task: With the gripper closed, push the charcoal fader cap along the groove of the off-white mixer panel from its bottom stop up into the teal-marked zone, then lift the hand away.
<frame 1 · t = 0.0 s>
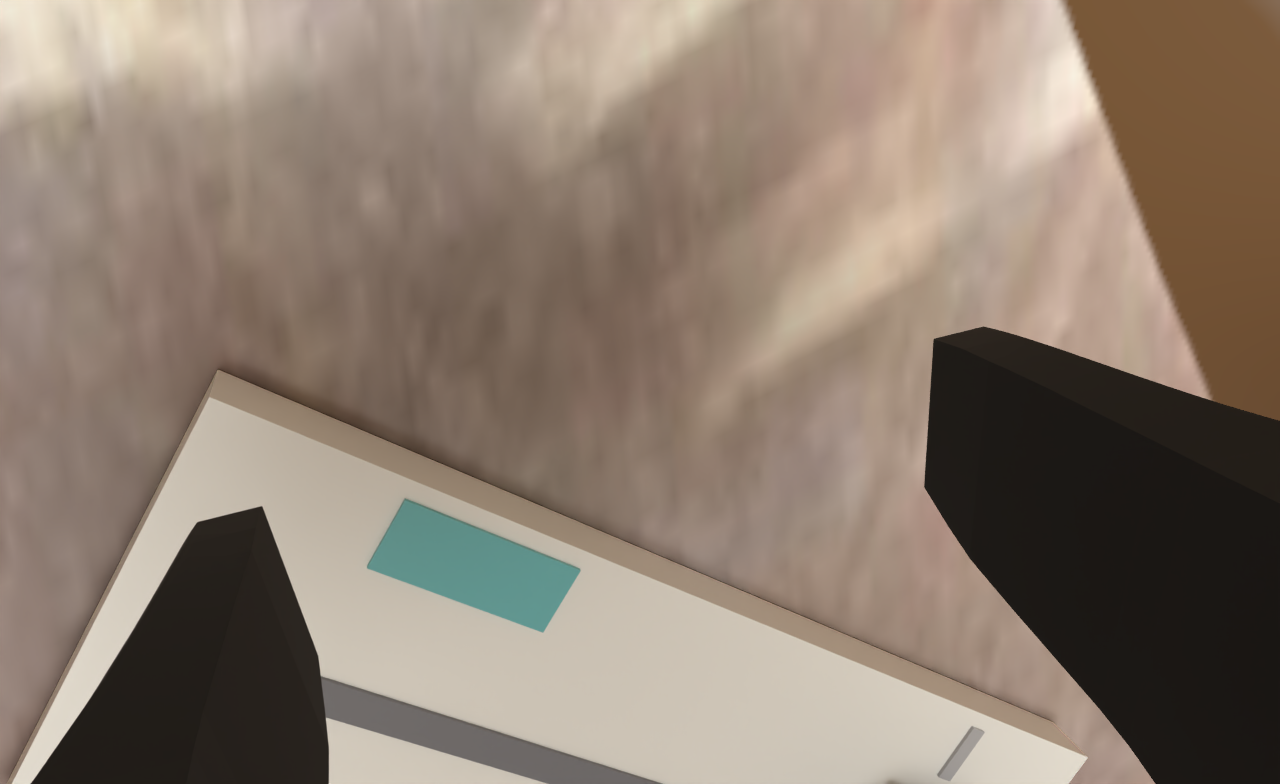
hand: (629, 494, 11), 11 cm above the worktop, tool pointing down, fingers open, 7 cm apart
mixer panel: (611, 746, 25), on the worktop
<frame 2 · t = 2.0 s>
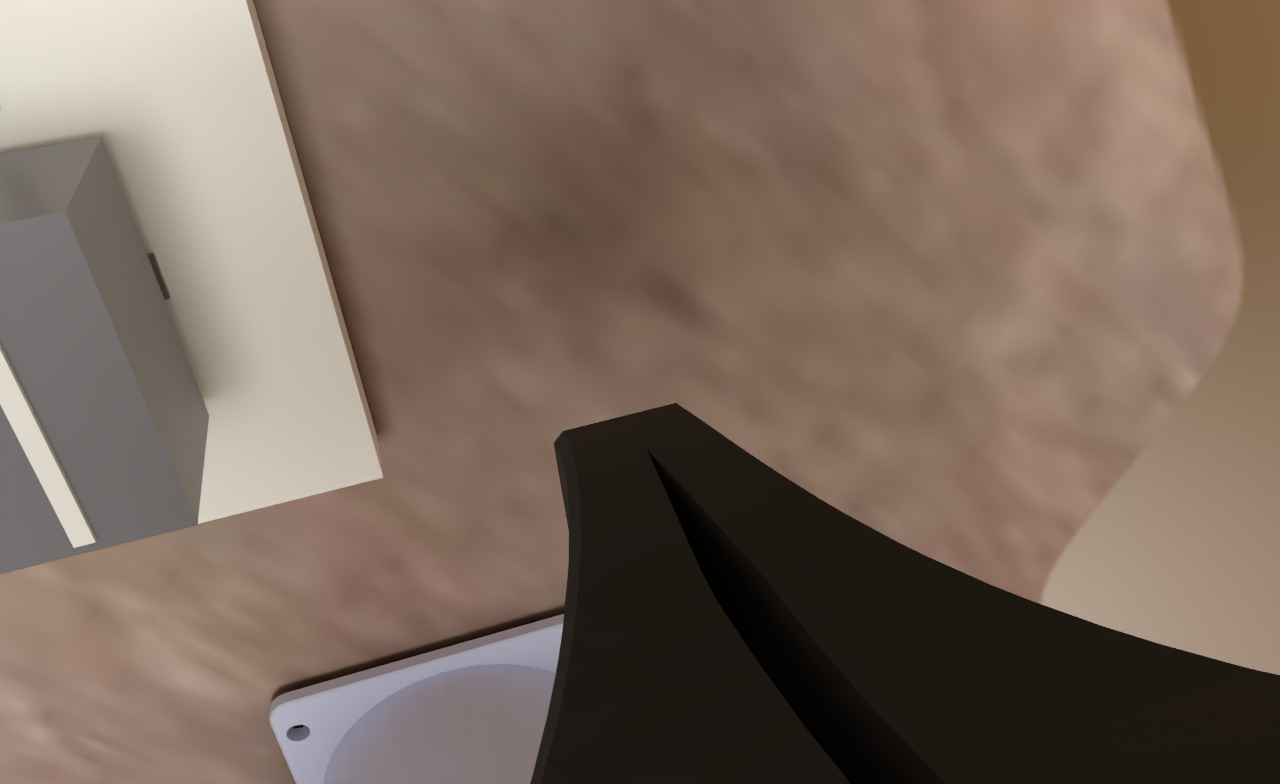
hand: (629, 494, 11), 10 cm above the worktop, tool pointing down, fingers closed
fader: (41, 355, 15), point 4 cm above the worktop, slide at 0.0 cm
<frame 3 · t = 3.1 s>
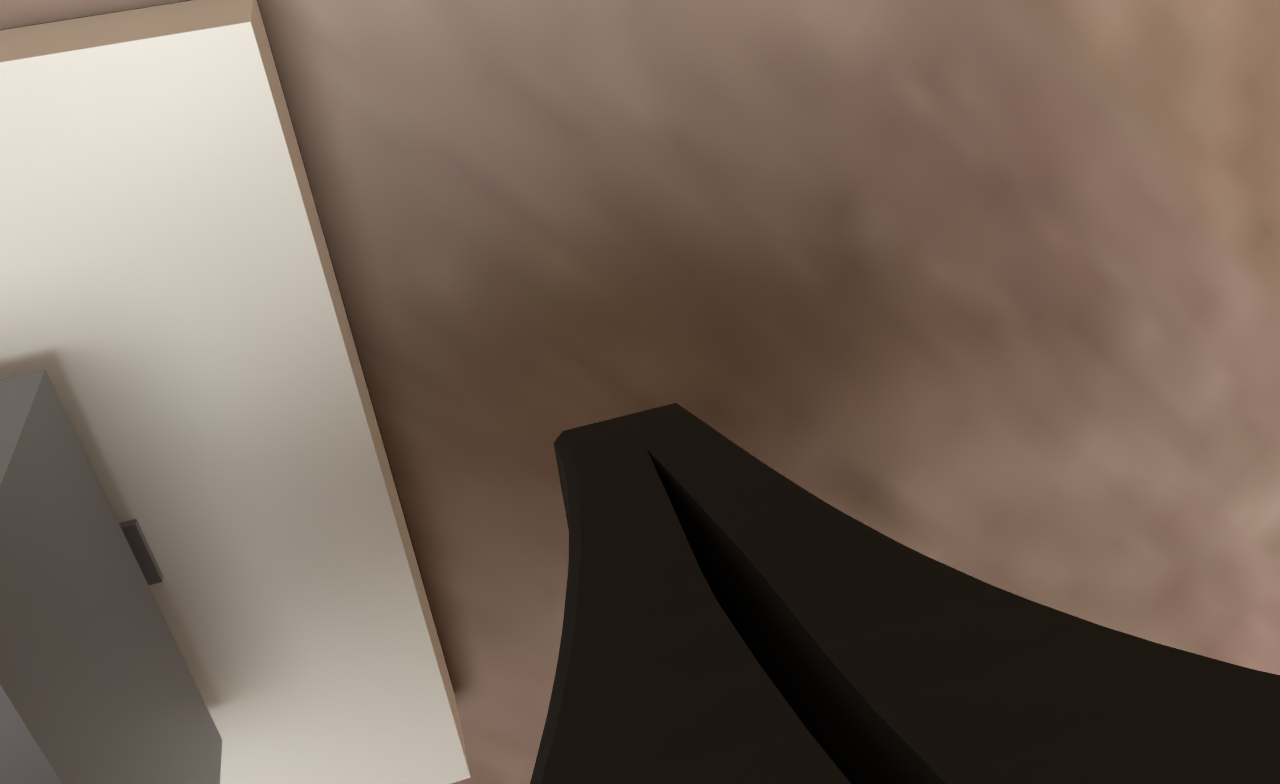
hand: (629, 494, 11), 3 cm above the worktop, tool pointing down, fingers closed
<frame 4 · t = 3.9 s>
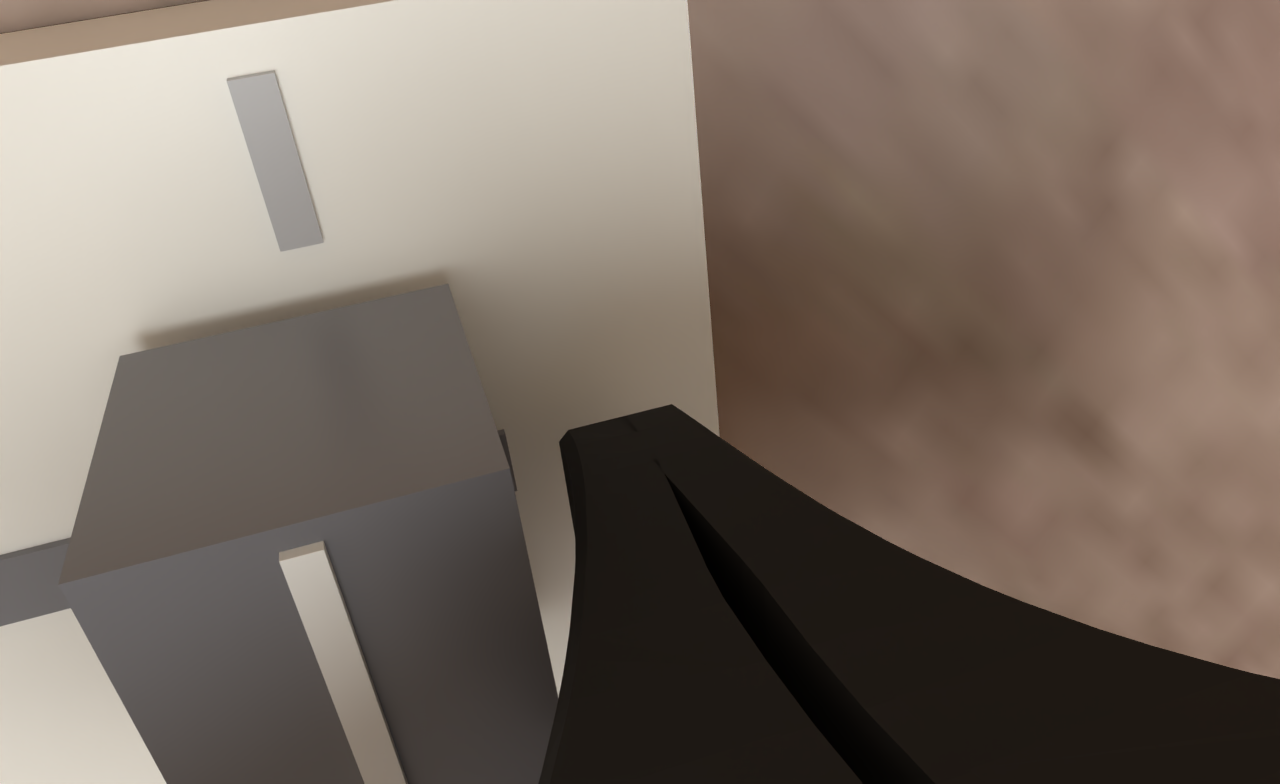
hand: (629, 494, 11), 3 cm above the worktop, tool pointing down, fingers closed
fader: (366, 631, 10), point 4 cm above the worktop, slide at 0.3 cm, touching gripper
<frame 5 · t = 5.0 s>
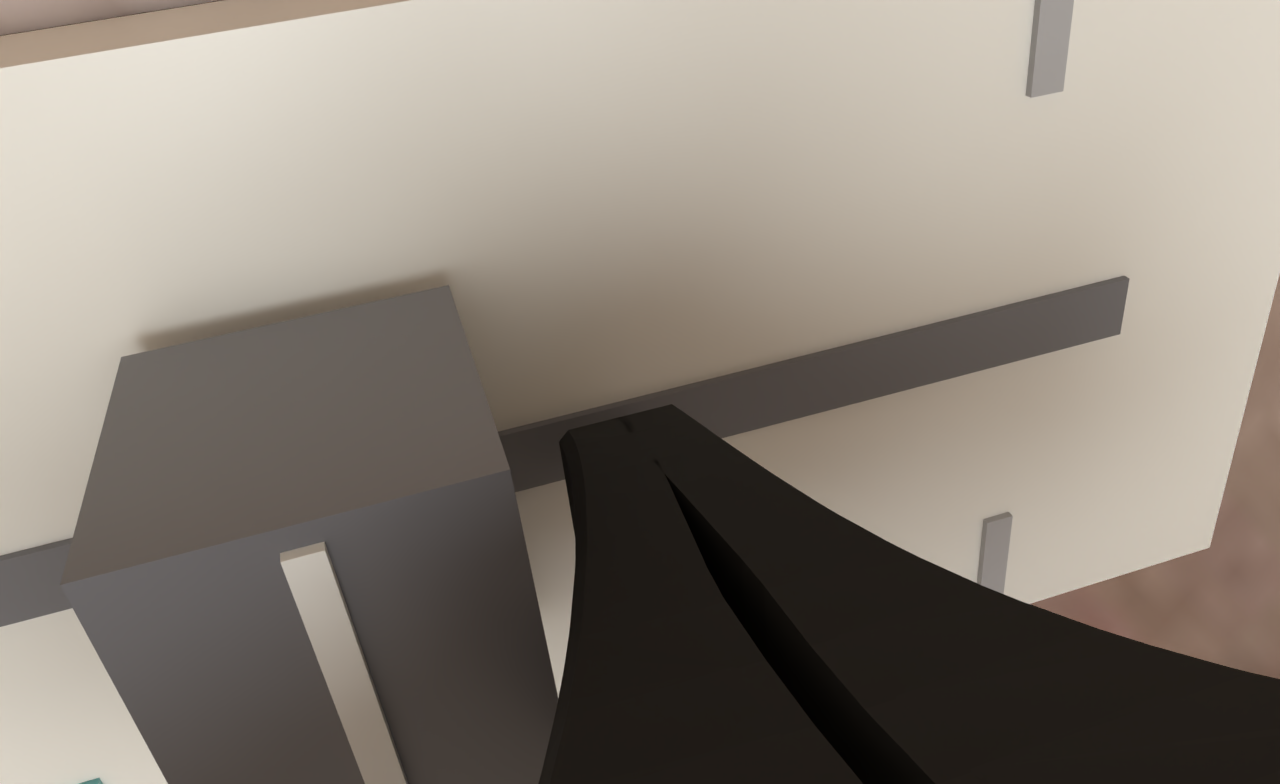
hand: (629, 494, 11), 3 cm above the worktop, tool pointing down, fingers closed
fader: (367, 632, 10), point 4 cm above the worktop, slide at 8.3 cm, touching gripper
mixer panel: (367, 422, 13), on the worktop
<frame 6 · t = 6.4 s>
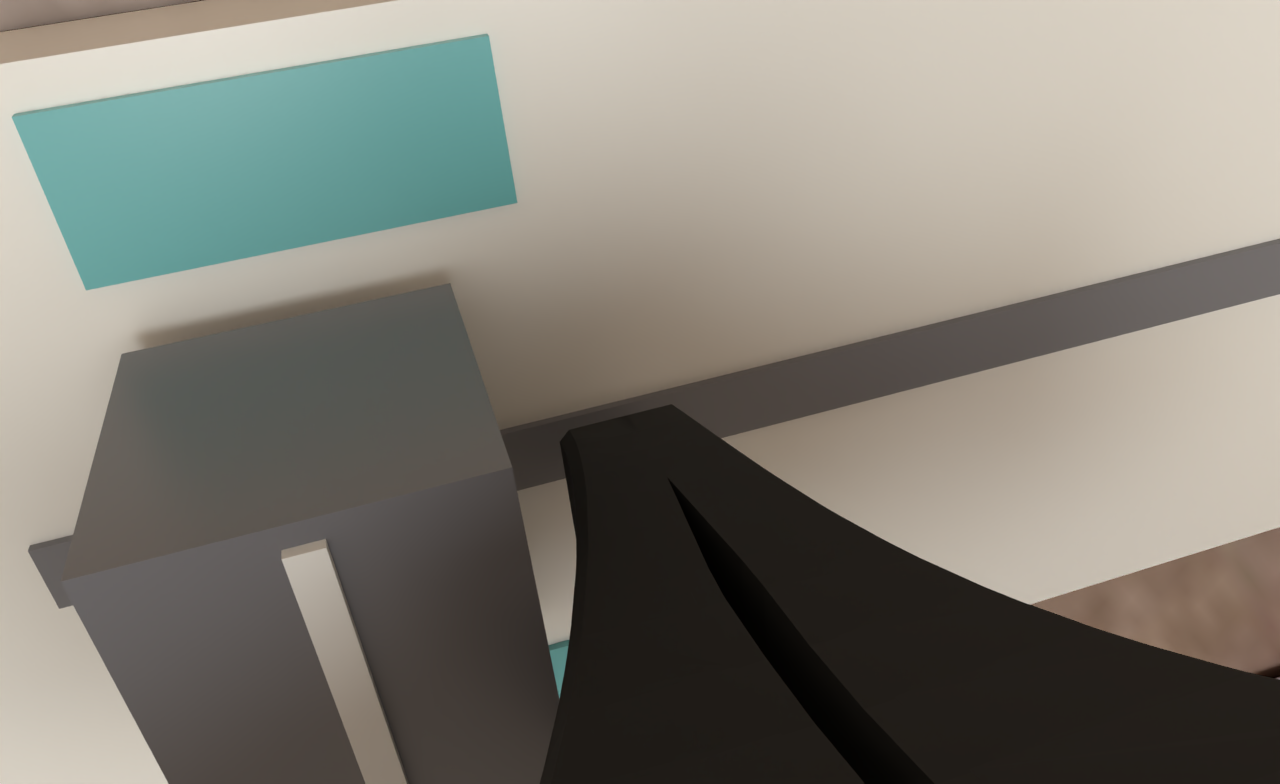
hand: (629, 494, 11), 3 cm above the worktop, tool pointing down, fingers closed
fader: (367, 630, 10), point 4 cm above the worktop, slide at 14.3 cm, touching gripper
mixer panel: (822, 312, 14), on the worktop
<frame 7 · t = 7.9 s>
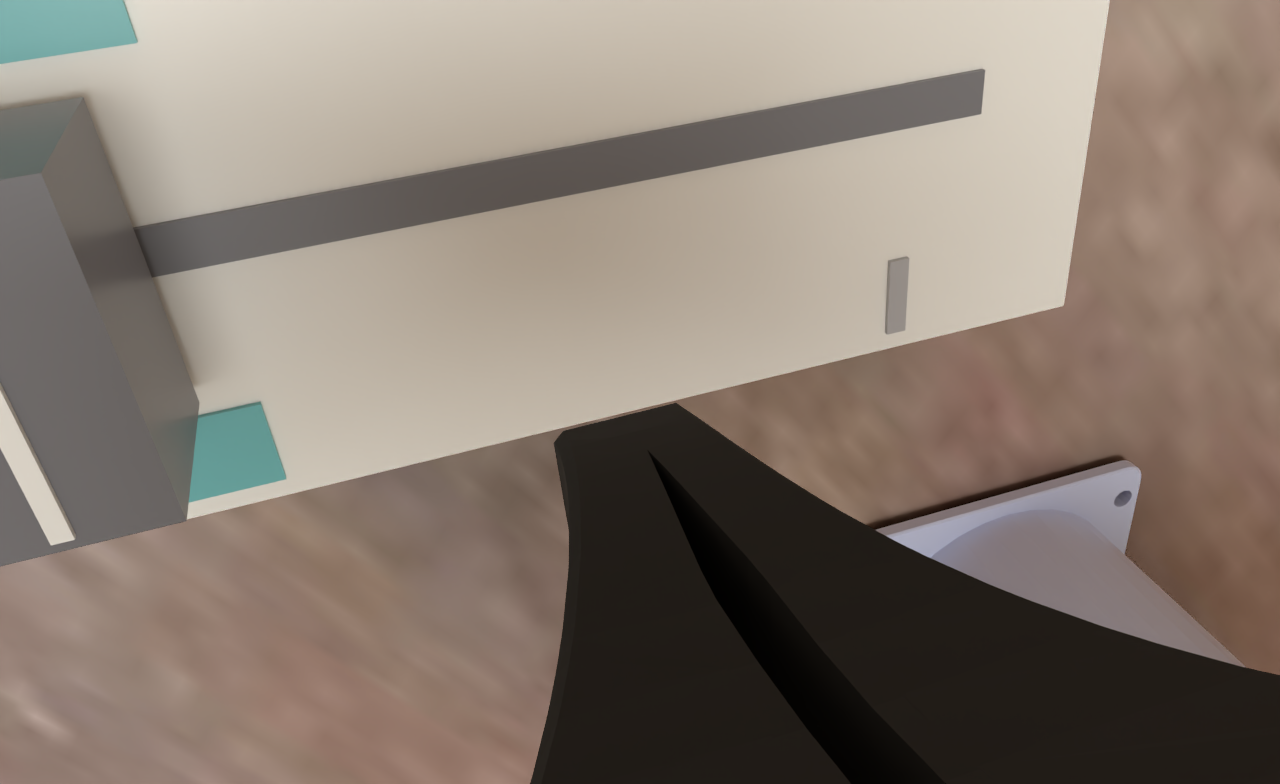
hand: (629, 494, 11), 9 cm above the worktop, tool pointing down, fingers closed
fader: (16, 335, 14), point 4 cm above the worktop, slide at 14.3 cm
mixer panel: (448, 161, 18), on the worktop
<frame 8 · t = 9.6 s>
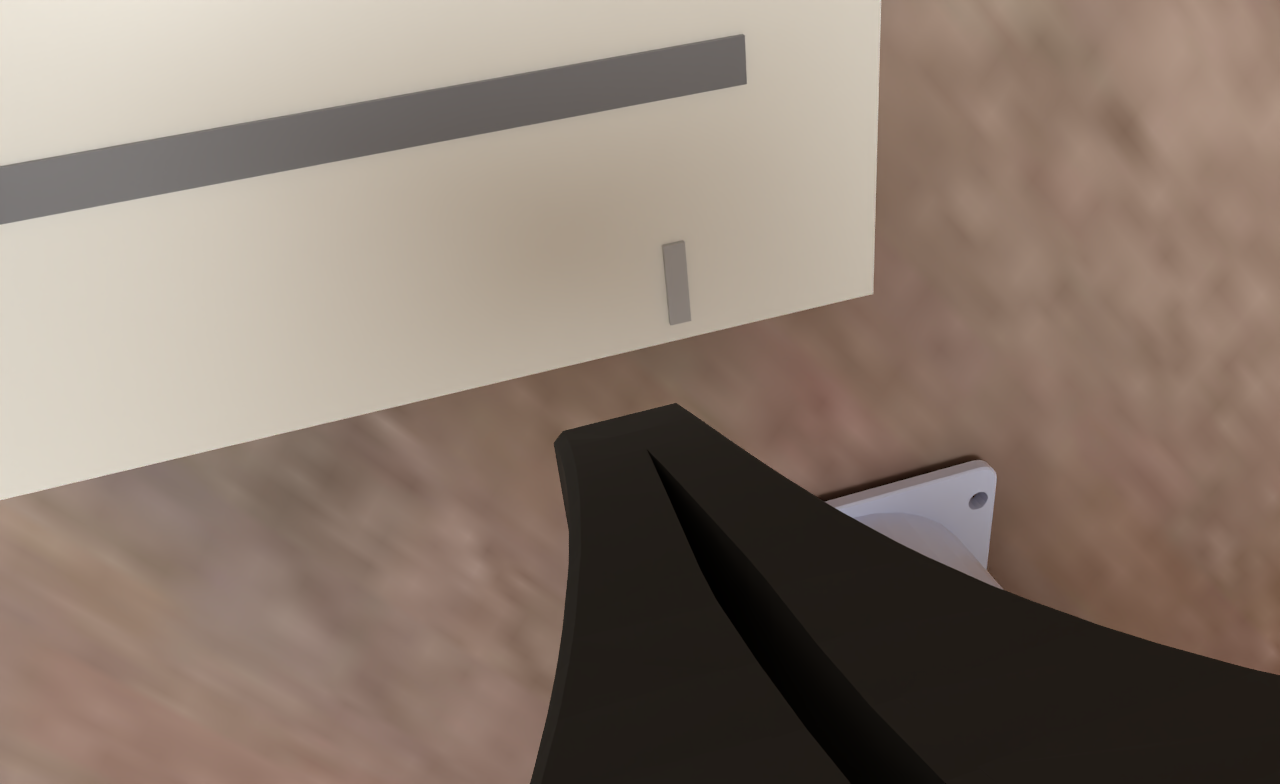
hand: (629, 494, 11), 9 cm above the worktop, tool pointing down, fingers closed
mixer panel: (155, 138, 17), on the worktop
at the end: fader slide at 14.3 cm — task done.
